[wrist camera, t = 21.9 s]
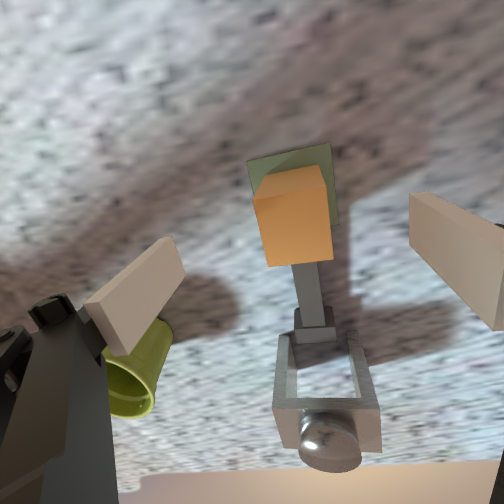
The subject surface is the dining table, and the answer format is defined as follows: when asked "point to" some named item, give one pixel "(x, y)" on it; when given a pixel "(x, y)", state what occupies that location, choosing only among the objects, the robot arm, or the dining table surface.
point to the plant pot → (137, 372)
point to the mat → (298, 160)
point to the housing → (327, 414)
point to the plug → (299, 242)
